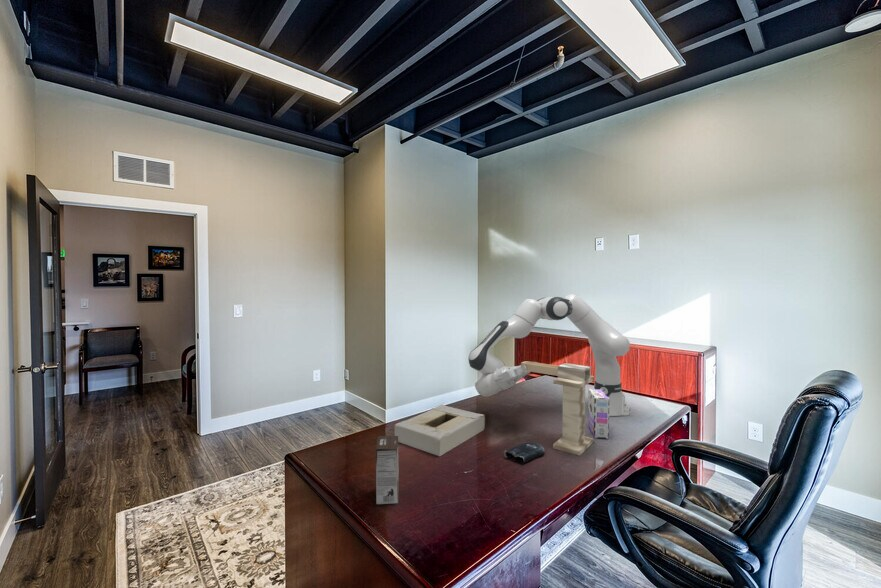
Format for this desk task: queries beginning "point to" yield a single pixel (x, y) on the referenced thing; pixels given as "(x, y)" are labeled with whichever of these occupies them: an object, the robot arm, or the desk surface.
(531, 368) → the tray
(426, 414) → the box
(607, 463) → the desk surface
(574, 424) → the stand
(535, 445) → the electronic device
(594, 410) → the candy box
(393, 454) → the coffee box
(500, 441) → the desk surface
